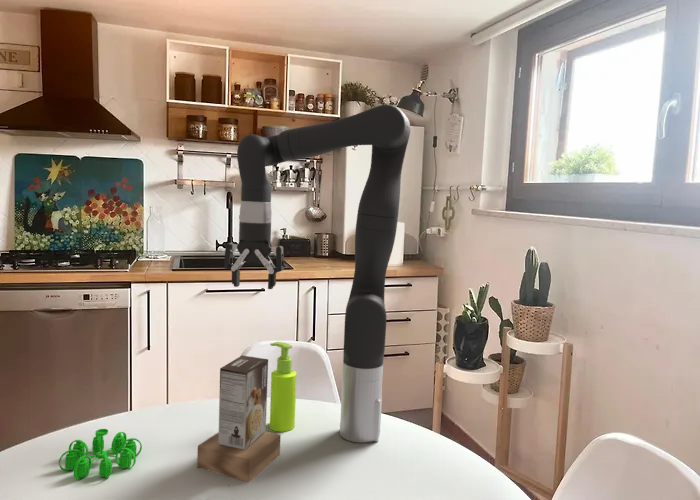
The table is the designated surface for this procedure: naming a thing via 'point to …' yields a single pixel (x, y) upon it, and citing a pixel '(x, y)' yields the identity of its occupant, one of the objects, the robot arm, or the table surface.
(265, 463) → the walnut block
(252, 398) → the coffee box
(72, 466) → the chandelier
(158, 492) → the table surface
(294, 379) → the soap dispenser
